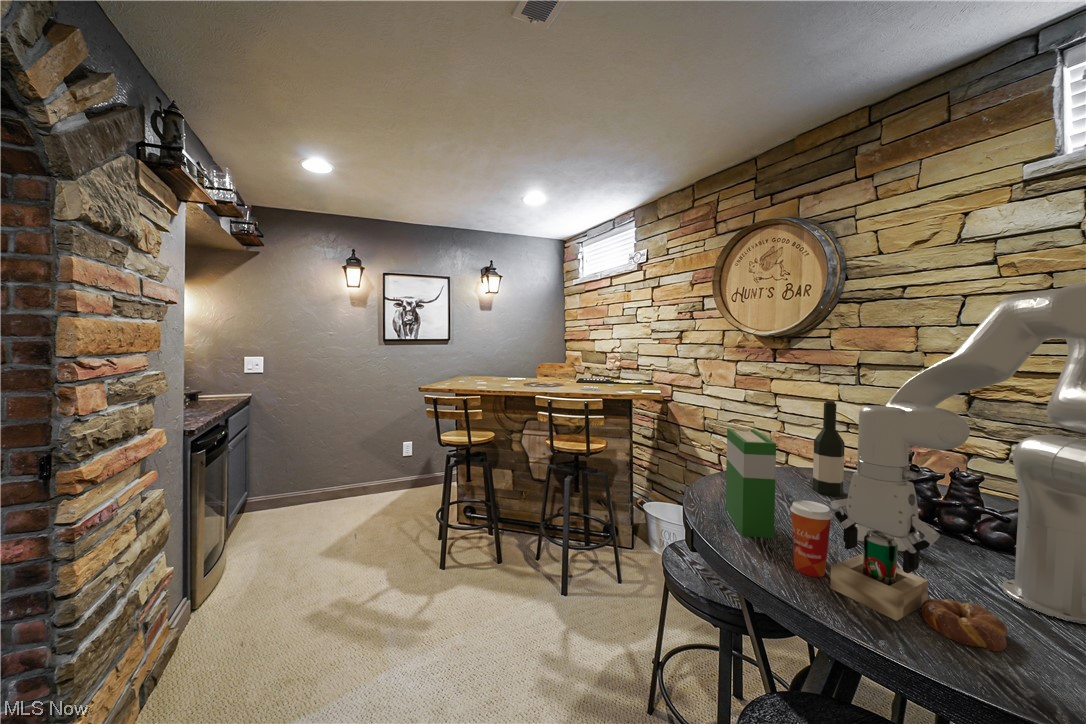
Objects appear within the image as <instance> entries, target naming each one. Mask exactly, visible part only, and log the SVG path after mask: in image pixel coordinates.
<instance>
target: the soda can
mask: <svg viewBox="0 0 1086 724" xmlns="http://www.w3.org/2000/svg"><path fill="white" fill-rule="evenodd" d="M898 551H899V550H898V544H897V542H896V541H895V537H894V536H890V535H887V534H885V533H882V532H879V531H875V530H870V531H867V534H866V535H865V536H864V542H863V553H862V554H863V575H865V576H867V577H870V578H872V579H874V580H877V581H879V582H881V583H883V584H886V585H888V586H890V585H892V584H894V583H896V582H897V568H898V553H899V552H898Z"/></svg>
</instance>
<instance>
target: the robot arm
mask: <svg viewBox="0 0 1086 724" xmlns="http://www.w3.org/2000/svg"><path fill="white" fill-rule="evenodd" d="M1049 339H1064V340H1065V342H1066V344H1067V349H1068V352H1067V357H1066V360H1065V363H1064V365H1063V368H1062V371H1061V372H1060V375H1059V377H1058V379H1057V382H1056V384H1055V385H1054V388H1053V390H1052V393H1051V394H1050V398H1049V400H1048V402H1047V407H1046V416H1047V418H1048V420H1049V421H1050V422H1052V424H1054V425H1056V426H1058V427H1060V428H1063V429H1065V430H1069V431H1073V432H1078V433H1082V434H1086V282H1082V283H1076V284H1071V285H1067V286H1064V287H1061V288H1055V289H1043V290H1036V291H1027V292H1020V293H1016V294H1013V295H1010V296H1008V297H1006V298H1004V299H1003V300H1001V301H999V303H997V304H996V306H995V307H994V308H993V309H992V310H991V311H990V312H989V313H988V314H987V315H986V317H985V318H983V320H982V321H981V322H980V323H979V325H978V326H977V327H976V328H975V329H974V330H973V332H971V334H970V335H969V336H968V337H967V338H966V339H965V340H964V341H963V342H962V344H961V345H960V346H959V347H958V348H957V350H955V351H954V352H953V353H952V354H951V355H949V356H948V357H946V358H943V359H942V360H940V361H938V362H936V363H934V364H933V365H931V366H929V367H928V368H926V369H924V370H923V371H921V372H919V373H917V374H916V375H914V376H913V377H911V378H910V379H908V380H907V381H906V382H905V383H904V384H903V385H901V387H900V388H899V389H898V390H897V391H896V392H895V393H894V394H893V395H892V397H890V399H889V400H888V402H886V404H885V405H878V404H877V405H866V406H863V407H861V408H860V410H859V413H858V427H857V428H858V430H857V432H858V433H857V436H858V437H857V459H856V461H857V462H856V463H857V464H856V466H857V467H856V471H855V472H853V475H852V478H851V481H850V484H849V488H848V494H847V498H843V499H834V500H832V501H830V505H831V508H832V510H833V512H834V516H835V517H836V520H838V521H839V523H840V527H841V528H842V529H843V537H842V538H843V542H844V548H845V549H846V550H851V549H854V548H857V547H858V540H857V537H858V529H857V527H856V524H859V525H862V526H864V527H867V528H870V529H873V530H876V531H879V532H882V533H885V534H887V535H890V536H894V537H897V538H899V539H900V540H901V542H902V543H903V544H904V546H905V547H906V548H907V550H905V551H904V552H903V551H902V552H903V554H902V555H903V557H902V558H903V559H902V570H903V571H904V572H905V573H912V572H914V571H916V570H918V569H919V567H920V566H919V565H920V551H922V550H926V549H927V548H930V547H932V546H933V544H934V543H936V542H937V540H938V539H939V538H940V536H941V535H940V533H939V532H938V531H936V530H935V529H934V528H932V527H930V526H929V525H928V524H927V523H925V522H924V521H922V520H921V519H920V518H919V507H918V499H917V495H916V490H915V485H914V483H913V482H911V481H909V480H914V481H916V480H917V478H918V473H917V472H915V471H912V470H910V468H911V467H910V465H909V455H910V454H909V453H910V452H909V451H910V447H918V448H924V449H931V450H937V451H943V450H944V451H945V450H952V449H956V448H958V447H959V448H960V447H961V446H962V445H964V444H965V443H966V442H967V441H968V439H969V437H970V435H971V434H970V433H971V429H970V425H969V423H968V422H967V420H966V419H965V418H963V417H962V416H961V415H960V414H958V413H956V412H955V411H952V410H949V409H945V408H940V407H938V405H939V404H941V403H942V402H944V401H945V400H948V399H949V398H952V397H953V396H956V395H959V394H961V393H964V392H969V391H973V390H977V389H983V388H988V387H990V386H993V385H997V384H1000V383H1003V382H1006V381H1008V380H1009V379H1011V378H1012V377H1013V376H1014V374H1015V373H1016V372H1017V371H1018V370H1019V369H1020V368H1021V367H1022V366H1023V364H1024V363H1026V361H1027V360H1028V359H1029V357H1030V356H1031V355H1033V354H1034V352H1035V351H1036V350H1037V349H1038V348H1039V347H1040V346H1041V345H1042V344H1043V342H1045V341H1046V340H1049ZM1012 461H1013V462H1012V463H1013V467H1014V468H1013V469H1014V472H1015V476H1016V482H1017V488H1018V512H1017V524H1016V526H1017V528H1016V529H1017V530H1016V545H1015V546H1016V547H1015V548H1016V549H1015V567H1014V568H1015V569H1014V579H1008V580H1005V581H1003V582H1002V588H1001V589H1002V591H1003V593H1004V594H1005V595H1006V594H1007V595H1008V596H1009V597H1008V596H1007V595H1006V596H1007V597H1008V598H1009V599H1011V598H1012V599H1013V601H1014V600H1015V601H1017V602H1019V603H1021V604H1023V605H1025V606H1027V607H1030V608H1032V609H1034V610H1037V611H1039V612H1042V613H1044V614H1047V615H1050V616H1055V617H1061V618H1066V619H1070V620H1075V621H1082V622H1086V439H1085V440H1084V439H1080V438H1073V437H1069V436H1064V435H1057V434H1034V435H1030V436H1029V437H1028V436H1027V437H1026V438H1023V439H1022V440H1021V441H1020V442H1018V443H1017V445H1016V446H1015V448H1014V450H1013V453H1012ZM843 507H846V512H845V511H844V510H843ZM917 532H921V534H923V536H924V537H923V538H922V540H921V541H920V539H919V540H918V539H917V538H916V537H915V535H914V534H916V533H917ZM1012 599H1011V600H1012ZM1015 601H1014V602H1015ZM1017 602H1016V603H1017ZM1019 603H1018V604H1019ZM1021 604H1020V605H1021ZM1023 605H1022V606H1023ZM1025 606H1024V607H1025ZM1027 607H1026V608H1027ZM1034 610H1033V611H1034ZM1039 612H1038V613H1039ZM1044 614H1043V615H1044ZM1047 615H1046V616H1047Z"/></svg>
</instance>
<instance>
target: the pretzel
mask: <svg viewBox="0 0 1086 724" xmlns="http://www.w3.org/2000/svg"><path fill="white" fill-rule="evenodd" d="M920 610H921V616H922V618H923V621H925V623H926V624H927V625H928V626H930V627H931V628H932V629H934V630H935V631H936V632H938V633H940V634H941V635H942V636H944V637H946V638H948V639H950V640H951V639H952V641H954V642H956V643H958V642H959V644H961V645H964V644H965V645H964V646H968V645H970V646H969V647H974V646H979V647H978V648H983V647H984V648H983V649H985V648H986V649H985V650H987V649H989V650H988V651H991V650H993V651H992V652H1001V650H1002V651H1004V650H1006V648H1007V646H1008V644H1007V643H1008V642H1007V639H1006V637H1008V633H1009V630H1008V627H1007V625H1006V624H1005V623H1004V622H1003V621H1002V620H1001V619H1000V618H998V617H997V616H994V614H993V613H991V612H990V611H989V610H988V609H986V607H985V608H984V607H983V606H981V605H979V604H976V603H972V602H964V603H961V602H959V601H958V600H957V601H956V600H954V599H948V598H946V599H945V598H944V599H938V598H937V599H936V598H929V599H927V600H926V601H924V603H923V604H922V606H921V607H920ZM981 646H982V647H981Z"/></svg>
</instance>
